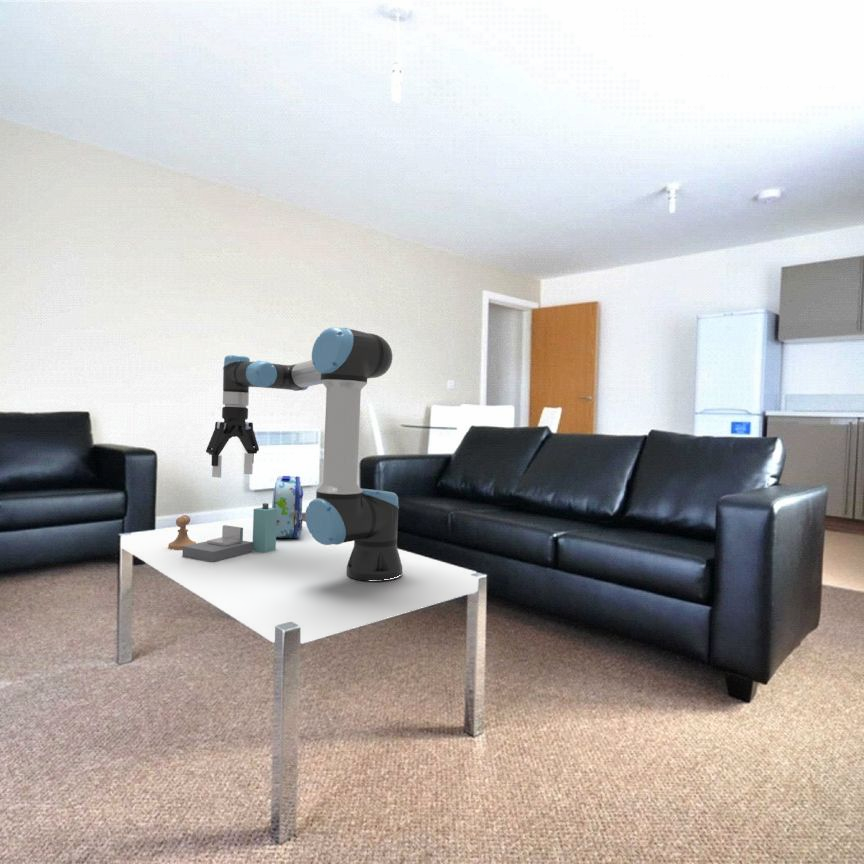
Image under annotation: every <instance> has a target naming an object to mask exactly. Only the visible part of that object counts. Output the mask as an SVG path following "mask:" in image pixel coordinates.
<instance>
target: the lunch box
mask: <svg viewBox="0 0 864 864" xmlns="http://www.w3.org/2000/svg"><path fill="white" fill-rule="evenodd" d="M272 494H273V495H272V502H271V503H272V504H271V508H276V509H277V525H276V538H279V539H283V538H286V539H287V538H288V539H293V538H294V539H295V540H298V539H299V538H300V536H301V531H303V518H302V516H303V497H304V490H303V487H302V483H301V477H300V476H298V475H297V476H293V475H282V476H281V475H278V476H277V478H276V481H275V485H274V488H273V493H272Z"/></svg>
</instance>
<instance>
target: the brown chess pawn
mask: <svg viewBox="0 0 864 864" xmlns="http://www.w3.org/2000/svg"><path fill="white" fill-rule="evenodd" d="M190 522H191V517H190V516H189V515H187V514H185V515H184V514H183V515H181V516H180V517H178V518H177V519H176V520H175V525H176V526H177V527H178V528H179V529H178V530H177V533H178V534H177V536H176V538H175V539H174V540H173V541H171V542H169V543H168V547H169V548H170V549H169V548H168V549H169V550H172V549H174V550H173V551H183V546H187V545H192V544H197V542H196V541H193V540H192V539H191V538H190V537H189V536H188V532H189V530H188V529H187V527H186V526H187V525H189V524H190Z"/></svg>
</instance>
